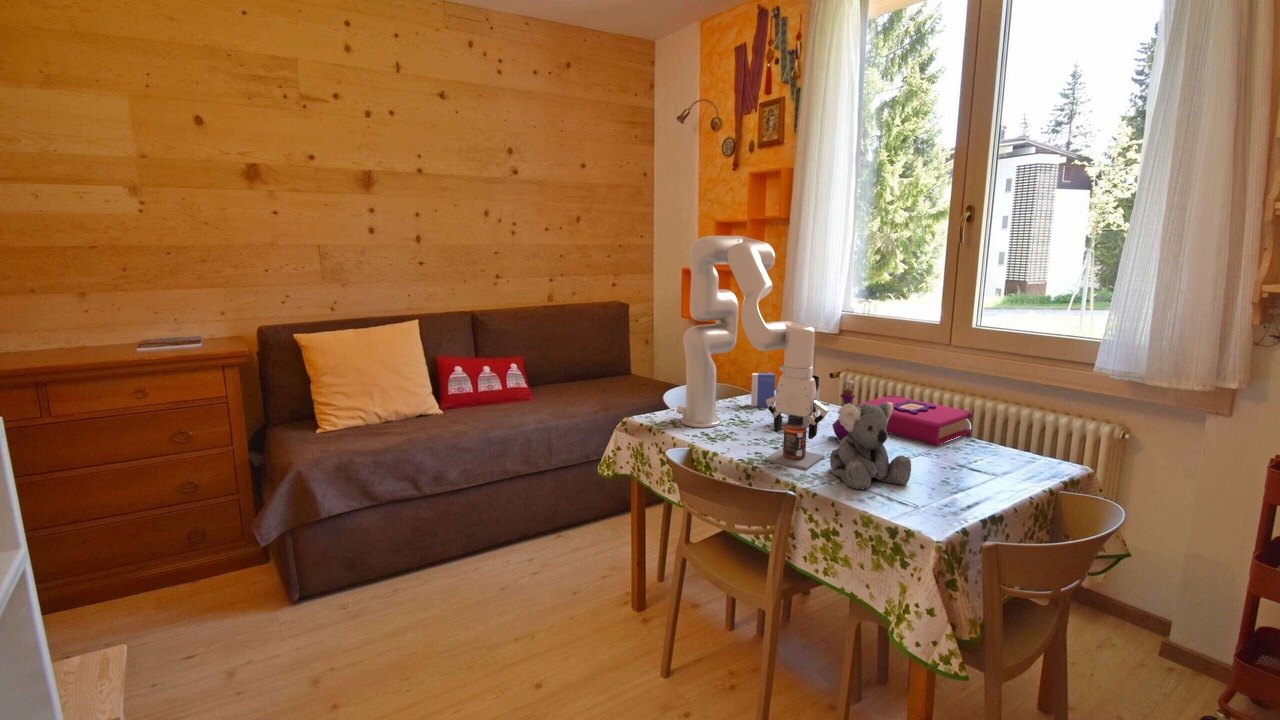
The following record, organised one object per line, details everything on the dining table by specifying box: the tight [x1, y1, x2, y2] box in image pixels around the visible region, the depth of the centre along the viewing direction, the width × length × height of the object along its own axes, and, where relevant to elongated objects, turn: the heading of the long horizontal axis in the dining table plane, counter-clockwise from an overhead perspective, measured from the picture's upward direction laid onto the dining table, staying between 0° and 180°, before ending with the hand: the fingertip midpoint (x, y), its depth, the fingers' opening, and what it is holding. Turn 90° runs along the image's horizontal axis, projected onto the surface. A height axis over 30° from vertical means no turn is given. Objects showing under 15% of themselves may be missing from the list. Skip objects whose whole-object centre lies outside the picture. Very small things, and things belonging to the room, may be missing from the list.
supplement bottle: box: [782, 415, 808, 459], centre depth 179 cm, size 6×6×11 cm
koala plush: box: [829, 401, 912, 490], centre depth 166 cm, size 17×18×20 cm
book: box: [855, 394, 974, 446], centre depth 207 cm, size 21×28×8 cm
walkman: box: [750, 371, 776, 408], centre depth 233 cm, size 8×3×12 cm, turn 85°
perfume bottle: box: [831, 380, 856, 442], centre depth 195 cm, size 8×8×18 cm
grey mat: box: [764, 447, 826, 471], centre depth 180 cm, size 12×12×1 cm
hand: (794, 434), depth 179 cm, fingers open, 9 cm apart
